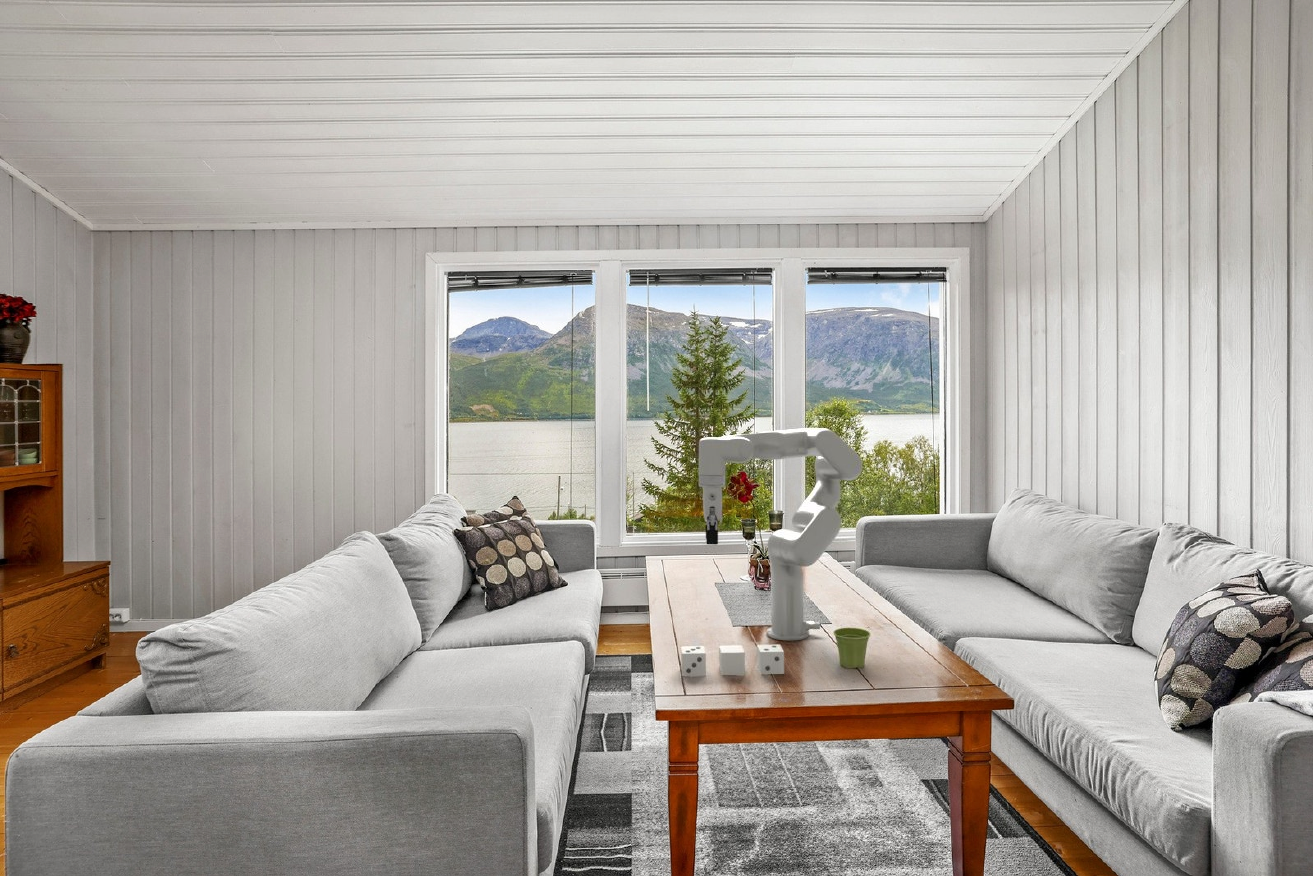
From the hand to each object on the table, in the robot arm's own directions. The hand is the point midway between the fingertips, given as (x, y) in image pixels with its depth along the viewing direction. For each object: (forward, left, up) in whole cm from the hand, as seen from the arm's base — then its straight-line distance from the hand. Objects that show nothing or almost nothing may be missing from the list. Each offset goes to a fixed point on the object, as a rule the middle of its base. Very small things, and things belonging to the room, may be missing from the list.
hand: (711, 541), depth 221 cm
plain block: (-3, +20, -31) cm, 37 cm away
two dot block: (-13, +20, -31) cm, 39 cm away
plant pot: (-35, +17, -31) cm, 50 cm away
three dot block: (+7, +20, -31) cm, 37 cm away
